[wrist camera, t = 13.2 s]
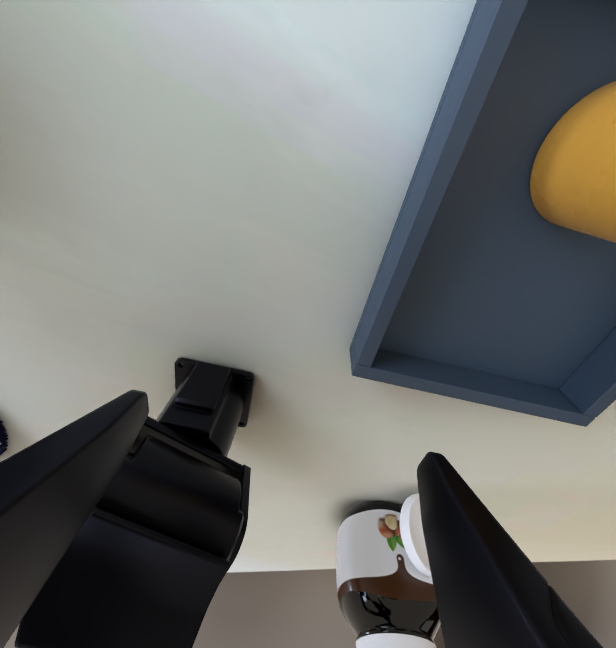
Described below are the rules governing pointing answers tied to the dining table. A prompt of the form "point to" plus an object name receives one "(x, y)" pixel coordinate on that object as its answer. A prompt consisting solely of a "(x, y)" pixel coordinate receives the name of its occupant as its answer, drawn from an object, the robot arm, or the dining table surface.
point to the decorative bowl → (2, 438)
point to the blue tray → (500, 231)
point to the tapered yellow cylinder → (580, 168)
